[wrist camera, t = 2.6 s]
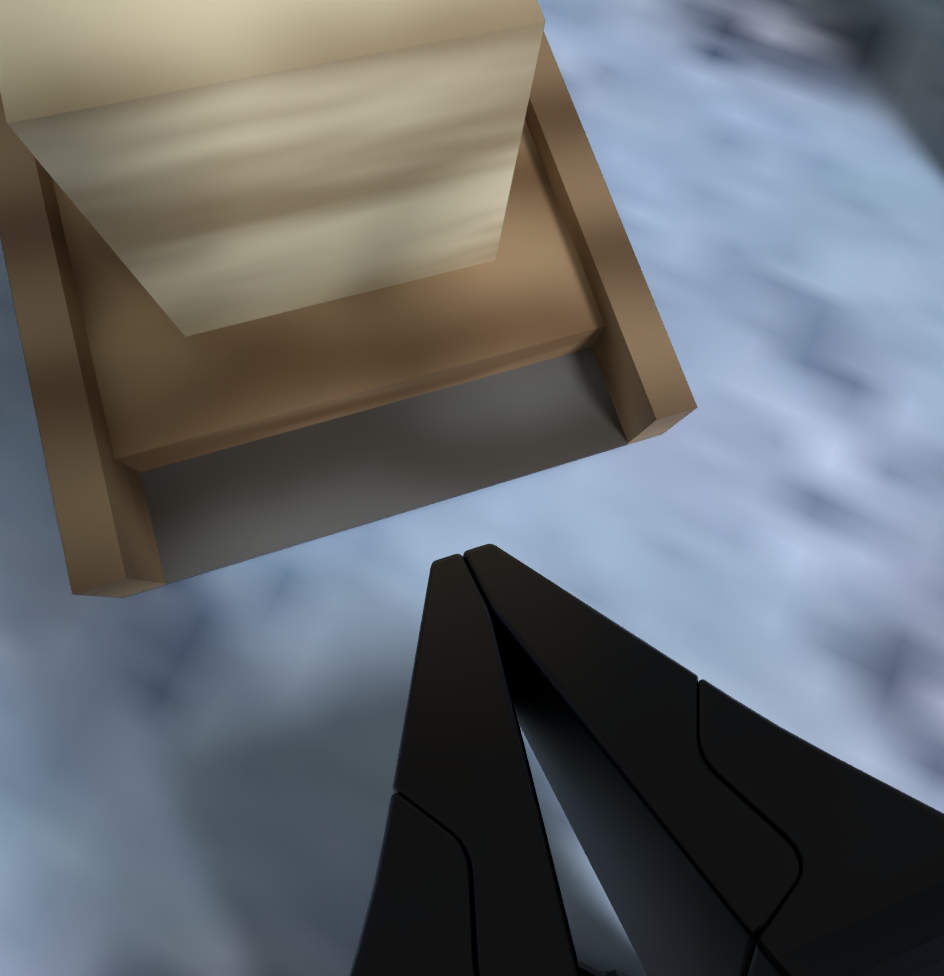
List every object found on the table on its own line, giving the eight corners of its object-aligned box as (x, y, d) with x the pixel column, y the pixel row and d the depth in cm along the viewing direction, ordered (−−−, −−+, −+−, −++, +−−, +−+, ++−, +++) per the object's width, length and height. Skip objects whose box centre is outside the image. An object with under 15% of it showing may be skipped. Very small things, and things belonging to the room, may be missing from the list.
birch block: (495, 259, 22) (545, 20, 13) (185, 336, 20) (6, 123, 12) (406, 15, 24) (398, -336, 15) (117, 68, 22) (-81, -289, 13)
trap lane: (662, 434, 23) (711, 396, 19) (122, 597, 20) (51, 593, 16) (389, -258, 30) (384, -391, 26) (-52, -206, 27) (-132, -348, 23)
